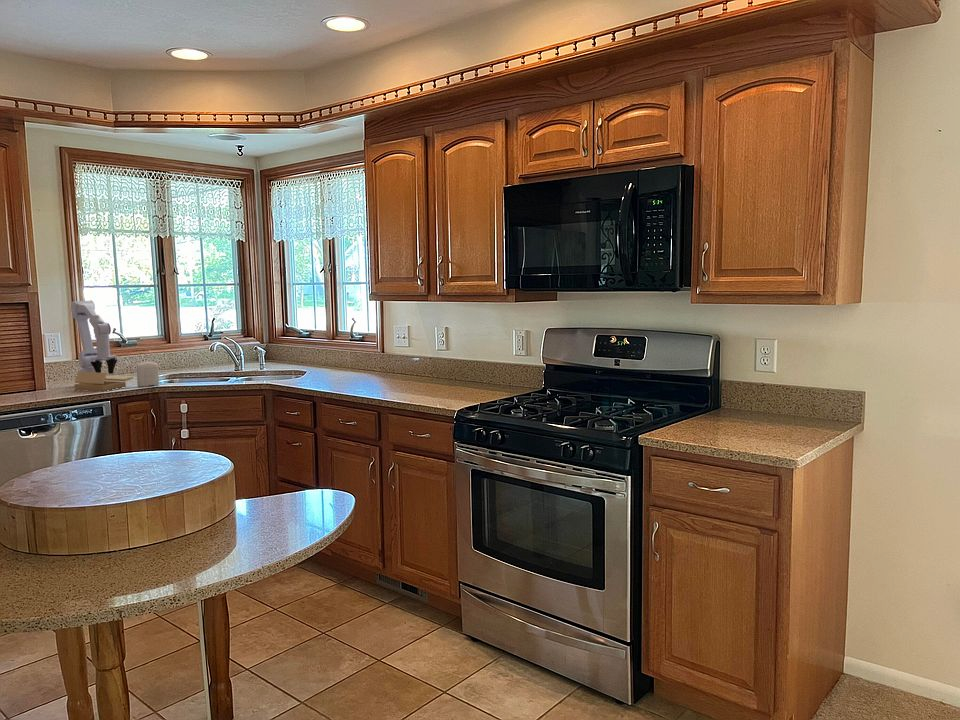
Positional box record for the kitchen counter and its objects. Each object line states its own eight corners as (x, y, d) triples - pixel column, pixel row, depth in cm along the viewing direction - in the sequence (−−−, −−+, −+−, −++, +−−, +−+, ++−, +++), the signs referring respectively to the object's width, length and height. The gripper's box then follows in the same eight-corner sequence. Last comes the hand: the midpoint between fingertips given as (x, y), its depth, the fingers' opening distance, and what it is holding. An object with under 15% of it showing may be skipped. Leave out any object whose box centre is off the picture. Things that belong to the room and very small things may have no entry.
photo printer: (158, 384, 381) (157, 361, 379) (160, 385, 377) (158, 361, 376) (136, 386, 375) (135, 362, 374) (138, 387, 372) (137, 363, 370)
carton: (74, 390, 362) (74, 384, 362) (97, 386, 375) (97, 380, 375) (103, 391, 356) (103, 385, 356) (125, 387, 370) (125, 381, 369)
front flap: (75, 382, 362) (74, 382, 361) (79, 372, 364) (78, 371, 363) (103, 384, 357) (101, 383, 356) (107, 373, 359) (105, 372, 358)
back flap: (106, 375, 380) (106, 377, 380) (98, 378, 375) (98, 380, 375) (133, 376, 374) (133, 378, 375) (124, 379, 369) (125, 381, 370)
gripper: (97, 349, 359) (99, 376, 360) (120, 346, 372) (122, 373, 374) (86, 348, 361) (88, 376, 362) (109, 346, 375) (111, 372, 376)
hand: (104, 374), depth 368 cm, fingers open, 7 cm apart
